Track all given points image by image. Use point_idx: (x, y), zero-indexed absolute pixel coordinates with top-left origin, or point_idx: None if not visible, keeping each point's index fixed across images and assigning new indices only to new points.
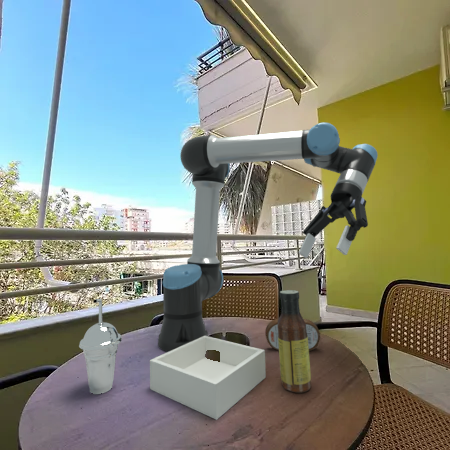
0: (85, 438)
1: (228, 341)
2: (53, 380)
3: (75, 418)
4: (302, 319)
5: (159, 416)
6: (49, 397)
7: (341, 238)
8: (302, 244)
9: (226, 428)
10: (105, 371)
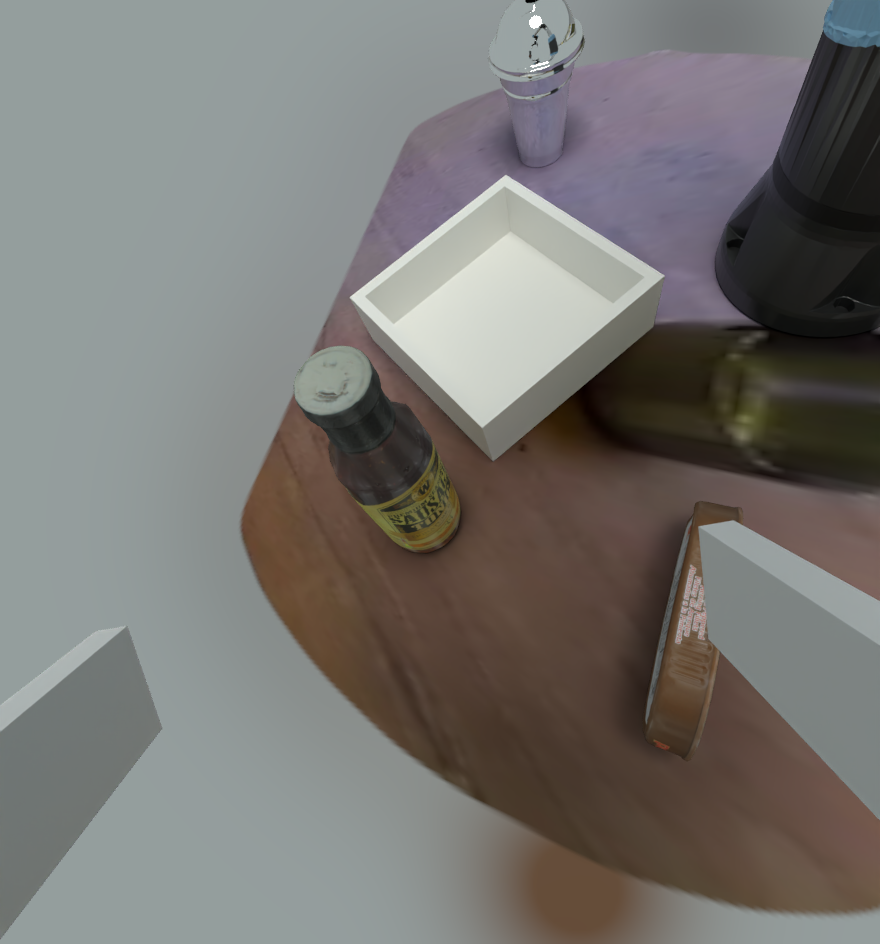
0: (399, 182)
1: (585, 340)
2: (600, 70)
3: (452, 153)
4: (337, 464)
5: None
6: None
7: (15, 707)
8: (824, 572)
9: None
10: (514, 123)
